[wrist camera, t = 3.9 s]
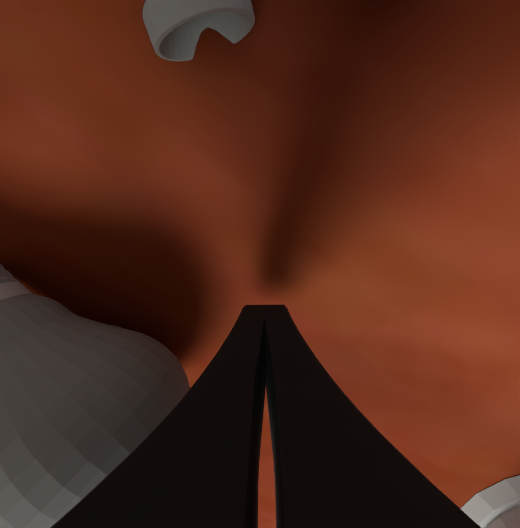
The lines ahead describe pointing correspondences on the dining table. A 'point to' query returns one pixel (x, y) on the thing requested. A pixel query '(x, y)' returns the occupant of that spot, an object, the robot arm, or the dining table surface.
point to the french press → (496, 505)
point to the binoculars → (194, 23)
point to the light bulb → (71, 402)
